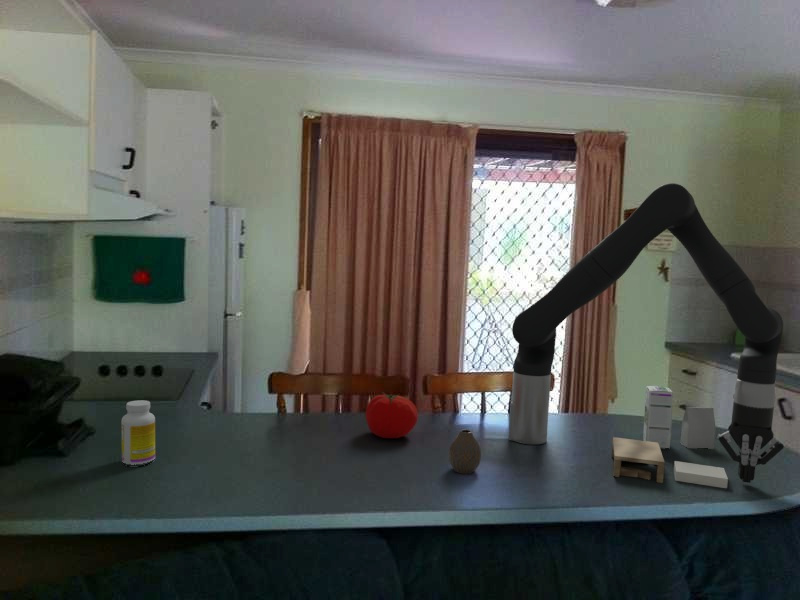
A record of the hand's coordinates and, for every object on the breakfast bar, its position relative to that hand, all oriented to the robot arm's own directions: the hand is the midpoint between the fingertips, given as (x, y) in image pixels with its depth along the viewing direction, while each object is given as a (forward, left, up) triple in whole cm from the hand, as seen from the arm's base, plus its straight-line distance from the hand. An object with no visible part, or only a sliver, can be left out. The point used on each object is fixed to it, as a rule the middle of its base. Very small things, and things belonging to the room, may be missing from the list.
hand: (745, 481), depth 138 cm
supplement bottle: (-124, -37, -1) cm, 129 cm away
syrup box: (-16, +22, -1) cm, 27 cm away
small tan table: (-22, +1, -1) cm, 22 cm away
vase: (-58, -15, -1) cm, 60 cm away
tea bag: (-6, +25, -1) cm, 26 cm away
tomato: (-80, +2, -1) cm, 80 cm away
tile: (-9, 0, -1) cm, 9 cm away
